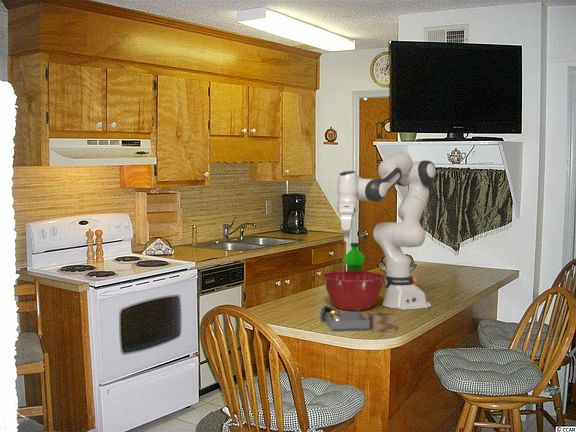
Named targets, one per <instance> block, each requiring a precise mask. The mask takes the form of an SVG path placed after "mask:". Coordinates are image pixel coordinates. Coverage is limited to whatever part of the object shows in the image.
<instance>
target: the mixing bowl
mask: <svg viewBox="0 0 576 432" xmlns="http://www.w3.org/2000/svg"><path fill="white" fill-rule="evenodd" d="M322 278H323V282H324V285H325V287H326V291H327V294H328V296H329V298H330V300H331V302H332V304H334V306H336V307H337V308H338V309H339V310H342V311H344V312H363V311H367V310H368V309H370V308H372V307H373V306H374V304H375V303H376V301H377V299H378V297H379V295H380V292H381V290H382V287H383V283H384V281H385V274H383V273H382V274H381V273H378V272H372V271H364V270H362V271H347V270H340V271H331V272H330V271H329V272H326V273H323V274H322Z"/></svg>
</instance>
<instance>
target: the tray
mask: <svg viewBox="0 0 576 432" xmlns="http://www.w3.org/2000/svg"><path fill="white" fill-rule="evenodd" d="M338 313H339V318H340V320H341V321H334V320H333V319H332V318H331V316H330V315H329V313H326V322H325V324H327V326H328V327H329V329H330V330H331V331H332V332H355V331H356V332H357V331H358V332H360V331H362V332H363V331H370V320H369V319H368V316H366V315H365V314H364V313H362V311H340V312H338Z"/></svg>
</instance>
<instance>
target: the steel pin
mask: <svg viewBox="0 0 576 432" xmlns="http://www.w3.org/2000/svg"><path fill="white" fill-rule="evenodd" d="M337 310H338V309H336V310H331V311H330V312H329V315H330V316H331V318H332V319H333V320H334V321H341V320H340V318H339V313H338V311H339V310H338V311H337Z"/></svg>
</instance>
